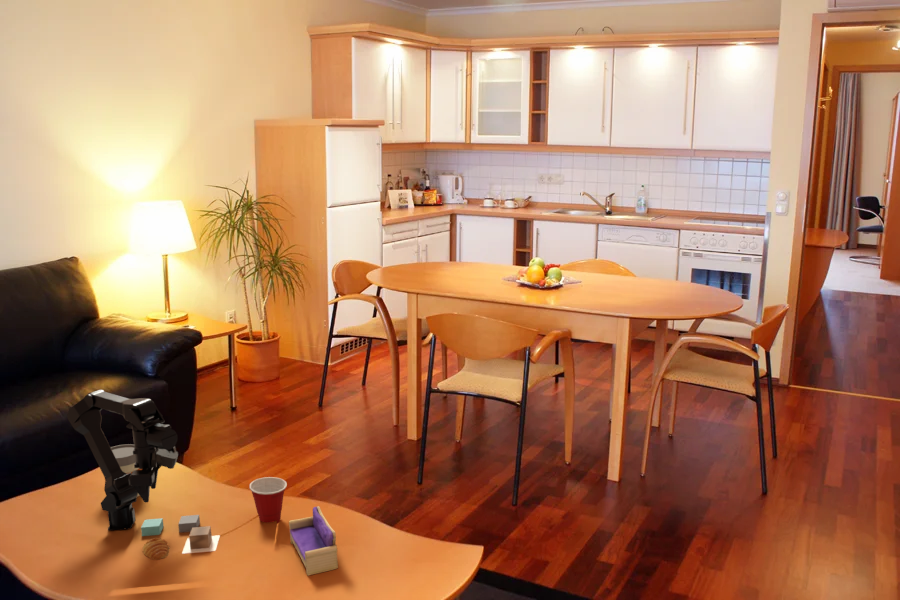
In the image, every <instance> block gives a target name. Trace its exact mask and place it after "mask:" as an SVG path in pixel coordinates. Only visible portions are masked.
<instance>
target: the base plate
mask: <svg viewBox="0 0 900 600" xmlns="http://www.w3.org/2000/svg"><path fill="white" fill-rule="evenodd" d="M211 536H212V540H211V544H210V547H209V548H201V549H190V539H189V537H187V539H186V541H185V542H184V543H185V544H184V546H183V549H182V551H181V554H182V555H184V554H185V555H186V554H194V553H206V552H216V550H217V549H218V544H219V540H220V537H221V535H219V534H218V535H217V534H216V535H211Z"/></svg>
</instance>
